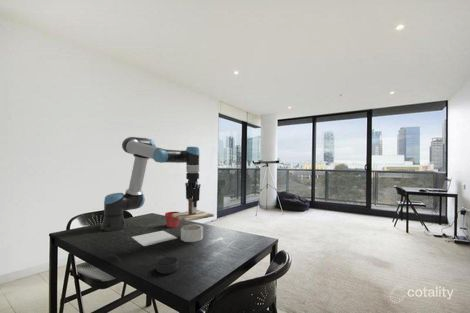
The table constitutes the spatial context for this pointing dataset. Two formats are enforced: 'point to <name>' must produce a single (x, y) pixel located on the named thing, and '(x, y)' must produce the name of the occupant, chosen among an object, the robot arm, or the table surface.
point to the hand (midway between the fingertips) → (192, 212)
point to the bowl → (191, 233)
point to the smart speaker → (167, 265)
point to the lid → (191, 214)
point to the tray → (153, 238)
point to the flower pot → (171, 220)
